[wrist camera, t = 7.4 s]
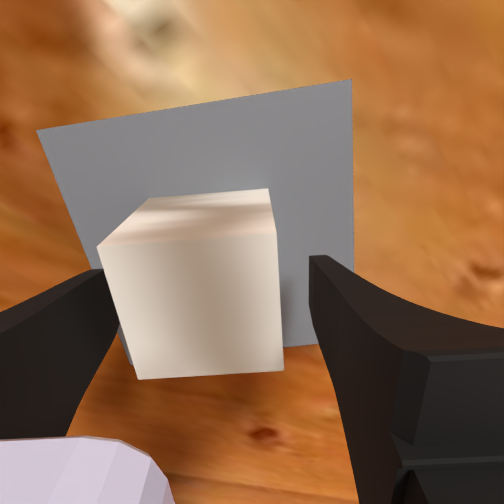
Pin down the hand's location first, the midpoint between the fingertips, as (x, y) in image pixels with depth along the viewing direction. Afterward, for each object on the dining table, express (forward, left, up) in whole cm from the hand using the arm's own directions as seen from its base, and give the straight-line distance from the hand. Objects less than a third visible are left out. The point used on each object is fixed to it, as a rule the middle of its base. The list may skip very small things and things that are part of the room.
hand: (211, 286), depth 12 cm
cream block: (0, 0, -3) cm, 3 cm away
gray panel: (0, 0, -7) cm, 7 cm away
